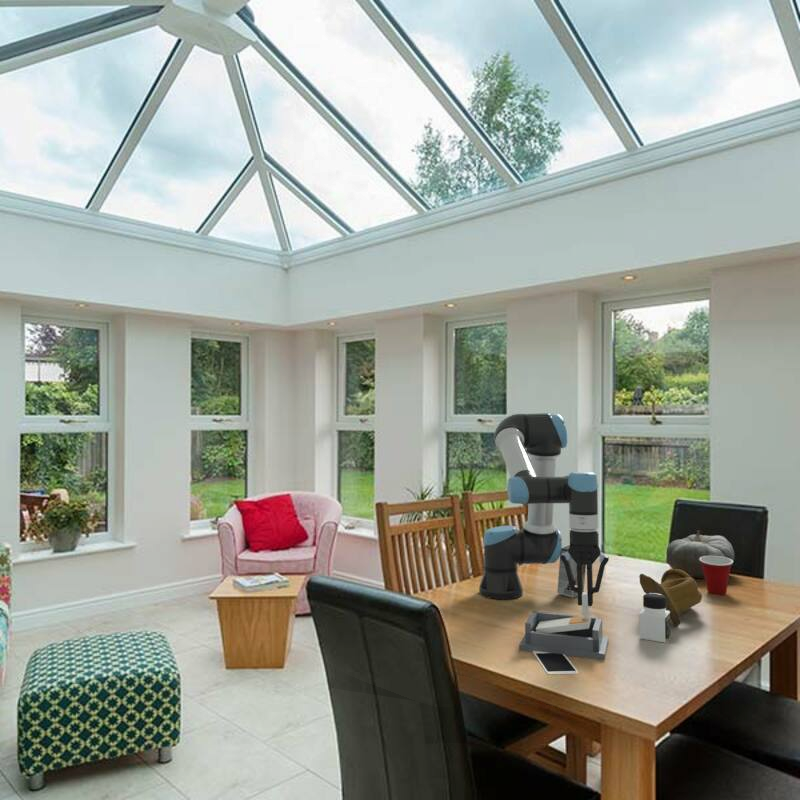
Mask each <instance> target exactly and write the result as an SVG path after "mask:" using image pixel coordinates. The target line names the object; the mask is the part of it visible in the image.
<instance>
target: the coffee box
mask: <svg viewBox="0 0 800 800" xmlns="http://www.w3.org/2000/svg"><path fill="white" fill-rule="evenodd" d="M569 546H570V544H569V545H567V546H566V545H565V546H564V547H562V548H561V554H562V553H566V552H567V551H568V548H569ZM561 554H560V556H561ZM569 556H570V559H569V562H570V565H571V569H572V573H573V576H574V580H575V584H576V586H577V563H576V562H575V561H574V560H573V558H572V557H571V555H569ZM558 565H559V567H558V577H557V579H558V580H557V589H556V590H557V594H558V595H561V596H565V597H568V598H569V597H570V598H576V597H578V594H577V592H575V591H572V590H571V588H570V585H569V581H568V577H567V573H566V569H565V566H564V563H563V561H562V560H561V558H560V557H559V564H558ZM586 571H587V565H585V564H583V592H585V583H586V582H585V581H586Z"/></svg>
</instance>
